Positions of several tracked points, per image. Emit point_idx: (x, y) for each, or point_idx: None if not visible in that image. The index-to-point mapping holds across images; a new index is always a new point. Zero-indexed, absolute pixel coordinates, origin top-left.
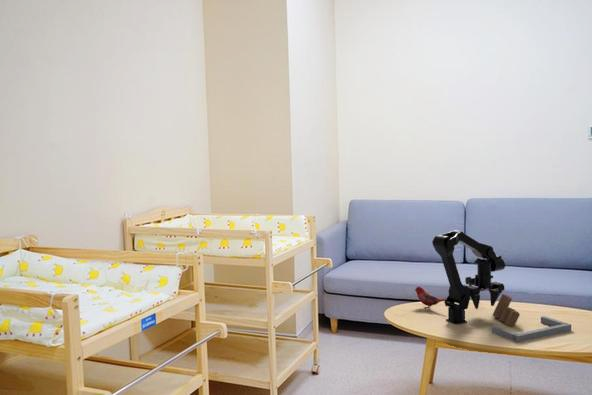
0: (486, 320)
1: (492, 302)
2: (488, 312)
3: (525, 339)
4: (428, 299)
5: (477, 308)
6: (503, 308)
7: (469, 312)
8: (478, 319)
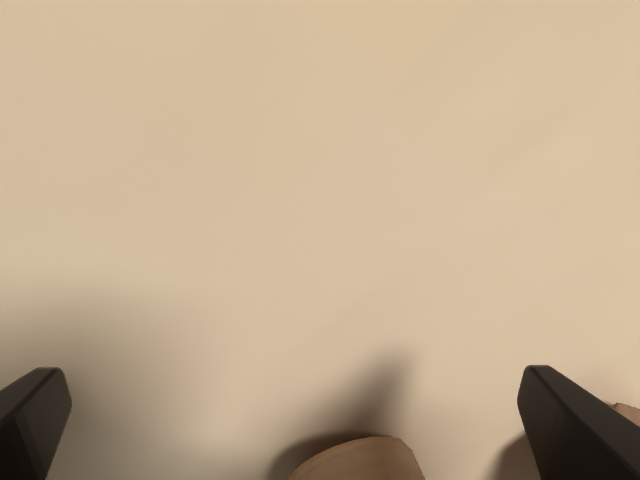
0: (148, 454)
1: (556, 469)
2: (481, 211)
3: None
4: None
5: (56, 420)
6: None
7: (156, 19)
8: None
